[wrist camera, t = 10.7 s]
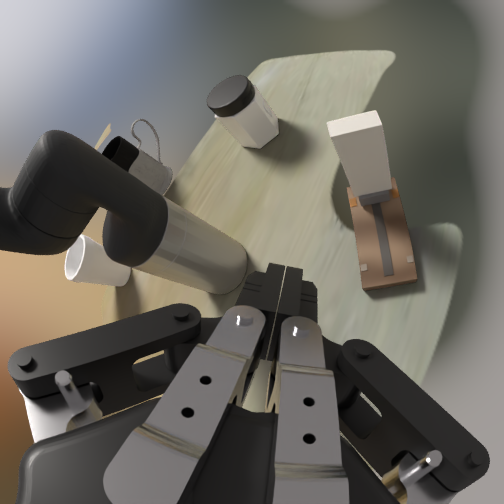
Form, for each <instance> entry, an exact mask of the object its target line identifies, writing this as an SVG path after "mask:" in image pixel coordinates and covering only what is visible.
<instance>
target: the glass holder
mask: <svg viewBox="0 0 504 504" xmlns="http://www.w3.org/2000/svg"><path fill="white" fill-rule="evenodd" d="M140 120H141V121H144V122H146V123H147V124H148V125H149V126H150V127H151V129H152V130H153V132H154V134H155V137H156V142H157V158H158V161H156V160H155V159H153V158H152V157H151V156H149V155H148V154H146V153H145V152H144V151H142V150H141V149H139V147H140V145H141V140H140V139H139V138H138V137H137V136H136V135H135V134H134V131H133V127H134V125H135V123H136V122H138V121H140ZM131 133H132V135H133V136H134V137H135V138H136V139H137V140H138V141H139V144H138V146H137V147H135V146H134V145H132V144H131V143H129V142H128V141H126V140H125V139H123V138H122V137H120V136H117V137H115V138H114V139H113V140H111V141H110V143H109V144H108V145H107V146H106V148H105V149H104V151H103V153H102V155H104V156H105V157H106V158H108V159H109V160H111V161H112V162H113V163H115V164H116V165H118V166H119V167H121V168H122V169H124V170H125V171H127V172H128V173H130V174H132V175H133V176H135V177H136V178H138V179H139V180H140V181H142V182H143V183H144V184H146V185H147V186H148V187H150V188H151V189H153V190H154V191H156V192H157V193H159V194H161V195H163V194H164V193H165V191H166V190H167V188H168V187H169V185H170V183H171V180H172V170H171V168H170V167H167V166H163V164H162V163H161V161H160V150H159V149H160V148H159V138H158V135H157V133H156V131H155V129H154V128H153V126H152V125H151V124H150V123H149V122H148V121H146V120H144V119H138V120H136V121H135V122H134V123H133V124H132V126H131Z"/></svg>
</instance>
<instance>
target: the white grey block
mask: <svg viewBox="0 0 504 504" xmlns="http://www.w3.org/2000/svg"><path fill="white" fill-rule="evenodd" d="M327 126H328V129H329V133H330V137H331V140H332V142H333V144H334V146H335V149H336V151H337V154H338V156H339V158H340V161H341V163H342V165H343V168H344V171H345V173H346V176H347V178H348V181H349V184H350V186H351V189H352V192H353V194H354V197H356V196H358V197H359V201H360V204H361V206H366V205H371V204H375V203H380V202H385V201H390V196H389V191H388V190H389V189H392V185H391V177H390V169H389V162H388V155H387V149H386V143H385V138H384V132H383V127H382V123H381V121H380V118H379V116H378V114H377V111H376V110H375V111H370V112H365V113H361V114H357V115H353V116H349V117H345V118H341V119H337V120H333V121H330V122H327Z"/></svg>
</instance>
